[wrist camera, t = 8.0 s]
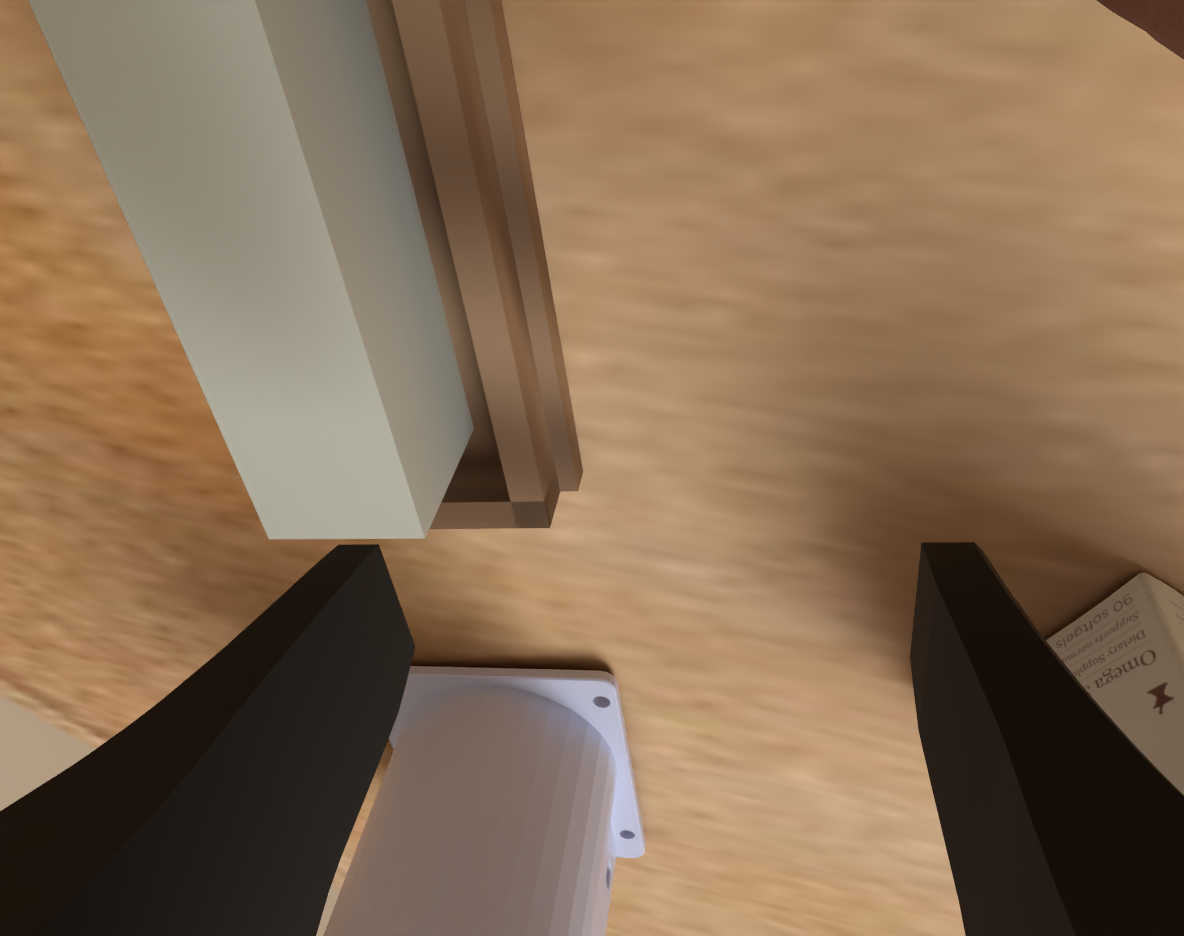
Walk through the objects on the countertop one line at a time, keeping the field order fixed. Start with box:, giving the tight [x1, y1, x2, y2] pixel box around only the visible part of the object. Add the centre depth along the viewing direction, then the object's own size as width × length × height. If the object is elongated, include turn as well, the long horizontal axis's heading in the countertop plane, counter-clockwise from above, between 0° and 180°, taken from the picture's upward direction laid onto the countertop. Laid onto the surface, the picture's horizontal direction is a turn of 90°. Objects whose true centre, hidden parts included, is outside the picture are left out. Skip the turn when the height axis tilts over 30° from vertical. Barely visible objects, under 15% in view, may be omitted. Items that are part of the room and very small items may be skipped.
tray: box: [366, 0, 583, 529], centre depth 18 cm, size 16×8×2 cm, turn 8°
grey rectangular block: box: [28, 0, 474, 539], centre depth 17 cm, size 12×4×4 cm, turn 8°
